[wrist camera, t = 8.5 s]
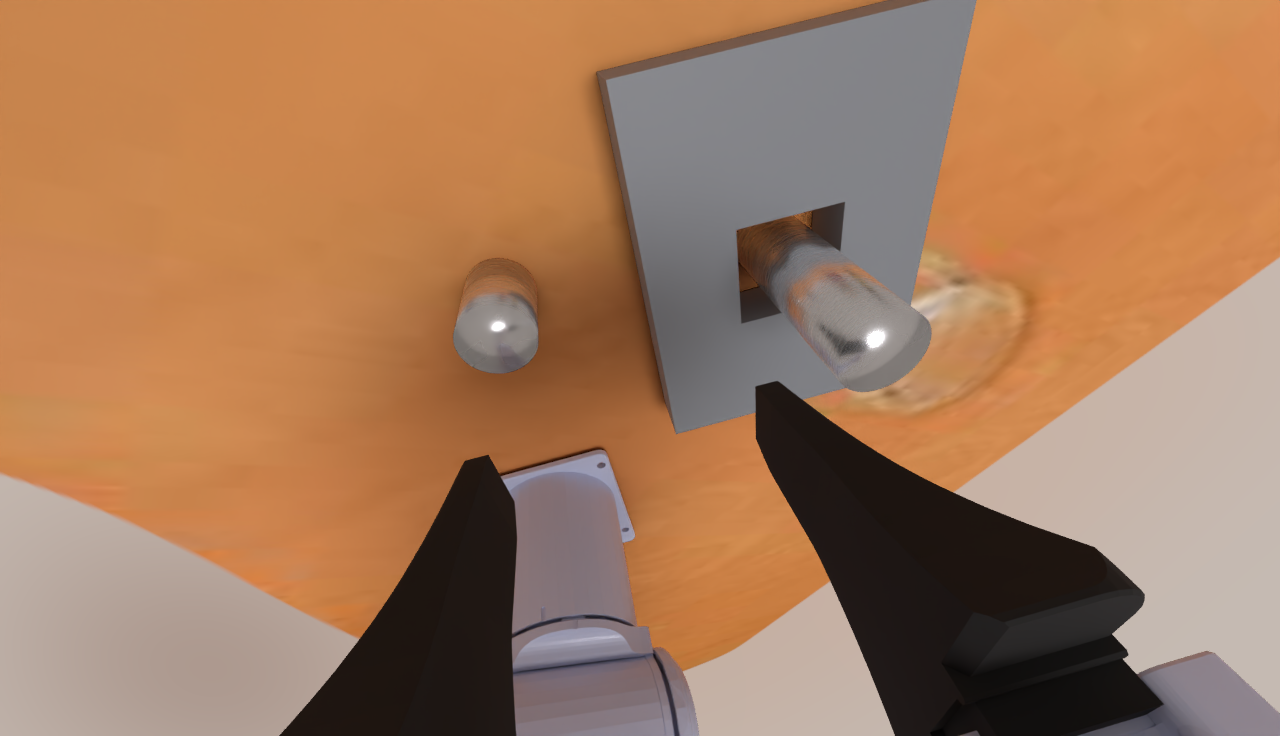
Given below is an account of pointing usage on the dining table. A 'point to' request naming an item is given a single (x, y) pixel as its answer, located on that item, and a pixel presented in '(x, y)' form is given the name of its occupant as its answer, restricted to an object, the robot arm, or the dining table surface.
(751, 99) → the hole board
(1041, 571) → the robot arm
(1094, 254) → the dining table surface
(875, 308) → the tall pin
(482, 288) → the short pin
